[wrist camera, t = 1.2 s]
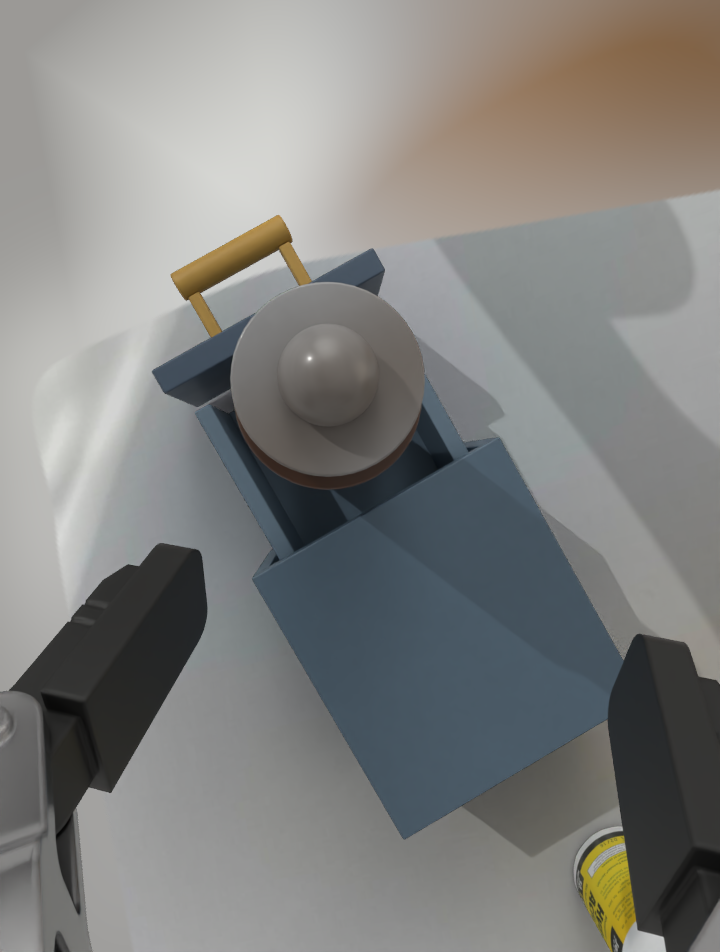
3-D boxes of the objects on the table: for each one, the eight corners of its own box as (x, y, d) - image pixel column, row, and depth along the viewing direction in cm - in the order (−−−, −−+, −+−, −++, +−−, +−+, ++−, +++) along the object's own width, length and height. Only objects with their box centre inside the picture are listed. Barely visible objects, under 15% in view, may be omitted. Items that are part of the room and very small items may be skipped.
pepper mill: (268, 414, 33) (143, 315, 11) (345, 371, 34) (377, 186, 11) (312, 491, 34) (278, 548, 11) (388, 448, 34) (507, 418, 11)
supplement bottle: (552, 857, 37) (633, 1001, 27) (627, 805, 37) (733, 928, 27) (602, 930, 37) (700, 1098, 27) (675, 877, 37) (799, 1025, 27)
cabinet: (270, 550, 36) (251, 578, 27) (458, 442, 36) (499, 436, 27) (386, 751, 36) (403, 841, 28) (570, 642, 37) (644, 698, 28)
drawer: (147, 322, 34) (102, 287, 27) (327, 222, 34) (326, 164, 28) (298, 582, 35) (290, 611, 28) (472, 482, 35) (506, 487, 28)
